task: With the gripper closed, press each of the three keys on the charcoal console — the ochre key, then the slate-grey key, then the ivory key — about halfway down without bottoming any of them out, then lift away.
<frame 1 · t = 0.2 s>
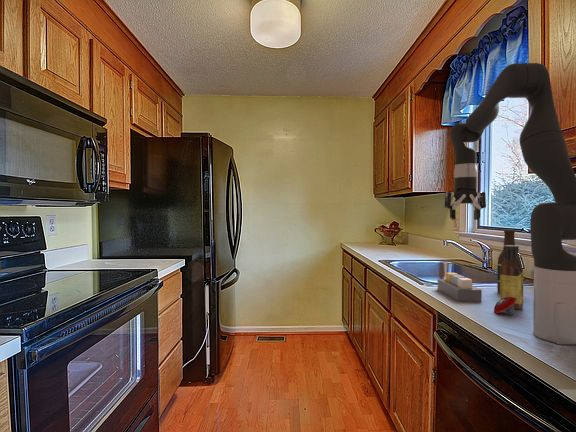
hand: (464, 219, 127), 28 cm above the table, tool pointing down, fingers open, 8 cm apart
ivory key: (464, 284, 119), point 5 cm above the table, slide at 0.0 cm
button: (505, 314, 102), on the table
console: (457, 295, 124), on the table
beer bottle: (508, 294, 126), on the table
ochre key: (452, 278, 129), point 5 cm above the table, slide at 0.0 cm
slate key: (458, 281, 124), point 5 cm above the table, slide at 0.0 cm
sauce bottle: (511, 307, 108), on the table
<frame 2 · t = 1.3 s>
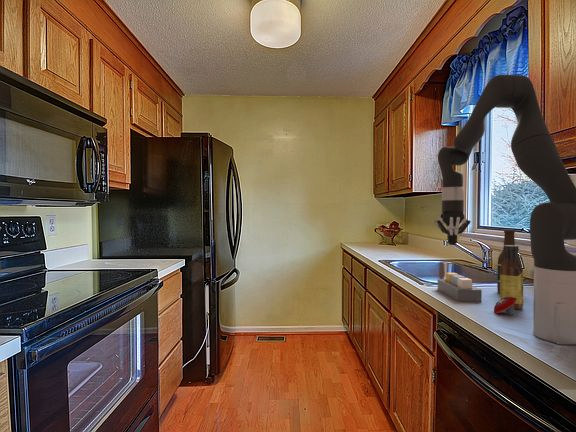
hand: (452, 244, 128), 18 cm above the table, tool pointing down, fingers closed
nothing on the table moved.
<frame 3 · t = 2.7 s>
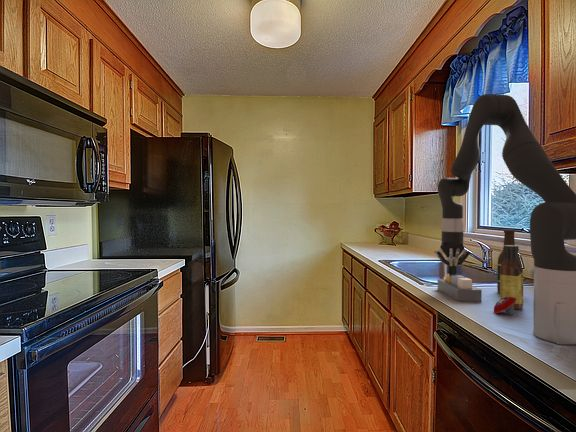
hand: (451, 275, 129), 6 cm above the table, tool pointing down, fingers closed
ochre key: (452, 280, 129), point 4 cm above the table, slide at 0.8 cm, touching gripper
everything else where it was.
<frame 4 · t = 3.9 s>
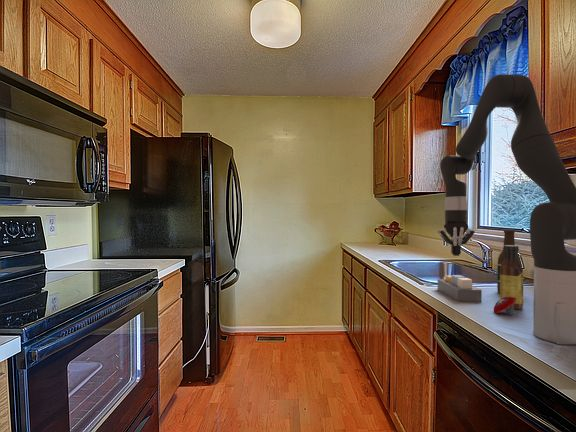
hand: (456, 255, 125), 14 cm above the table, tool pointing down, fingers closed
ochre key: (451, 281, 129), point 4 cm above the table, slide at 1.1 cm
everything else where it was.
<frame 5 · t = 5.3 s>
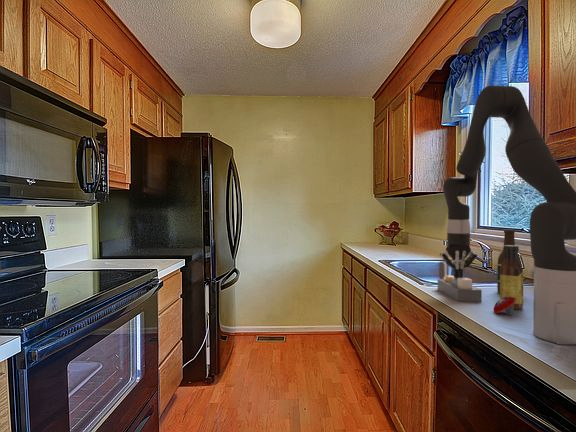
hand: (457, 278, 124), 6 cm above the table, tool pointing down, fingers closed
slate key: (458, 283, 124), point 4 cm above the table, slide at 1.1 cm, touching gripper
everything else where it was.
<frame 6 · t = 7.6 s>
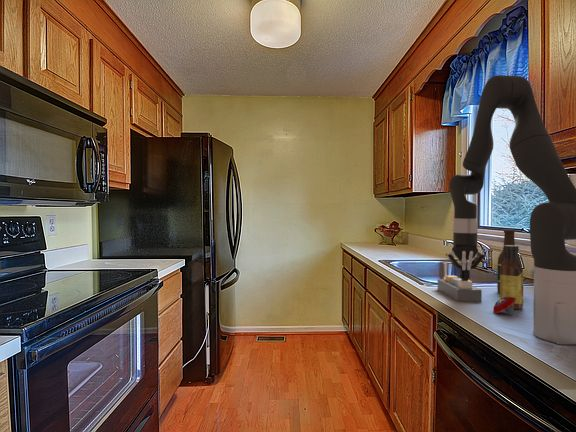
hand: (464, 280, 119), 6 cm above the table, tool pointing down, fingers closed
ivory key: (464, 285, 119), point 5 cm above the table, slide at 0.6 cm, touching gripper
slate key: (458, 284, 124), point 4 cm above the table, slide at 1.1 cm
everything else where it was.
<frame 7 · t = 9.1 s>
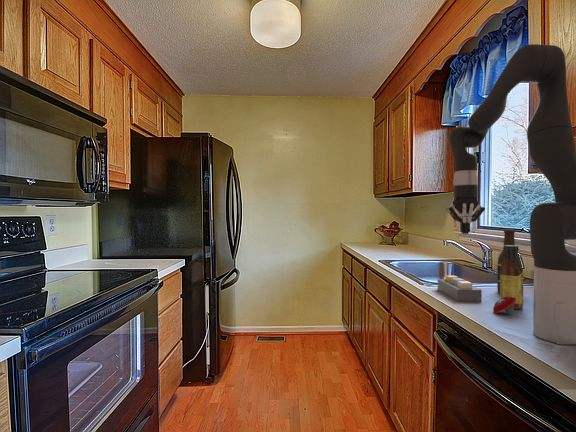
hand: (465, 233, 118), 23 cm above the table, tool pointing down, fingers closed
ivory key: (464, 287, 119), point 4 cm above the table, slide at 1.1 cm
everything else where it was.
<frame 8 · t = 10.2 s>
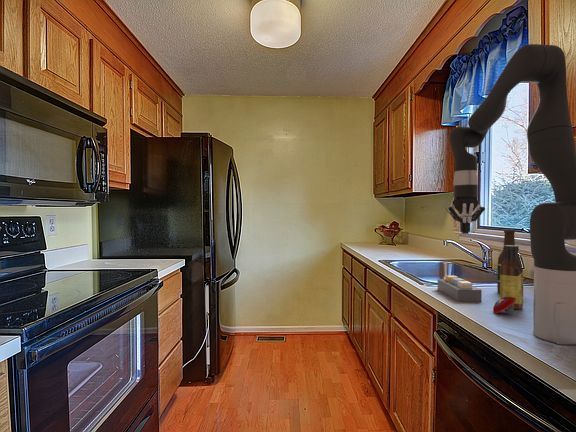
hand: (465, 233, 118), 23 cm above the table, tool pointing down, fingers closed
nothing on the table moved.
at the end: ochre key slide at 1.1 cm; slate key slide at 1.1 cm; ivory key slide at 1.1 cm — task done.
